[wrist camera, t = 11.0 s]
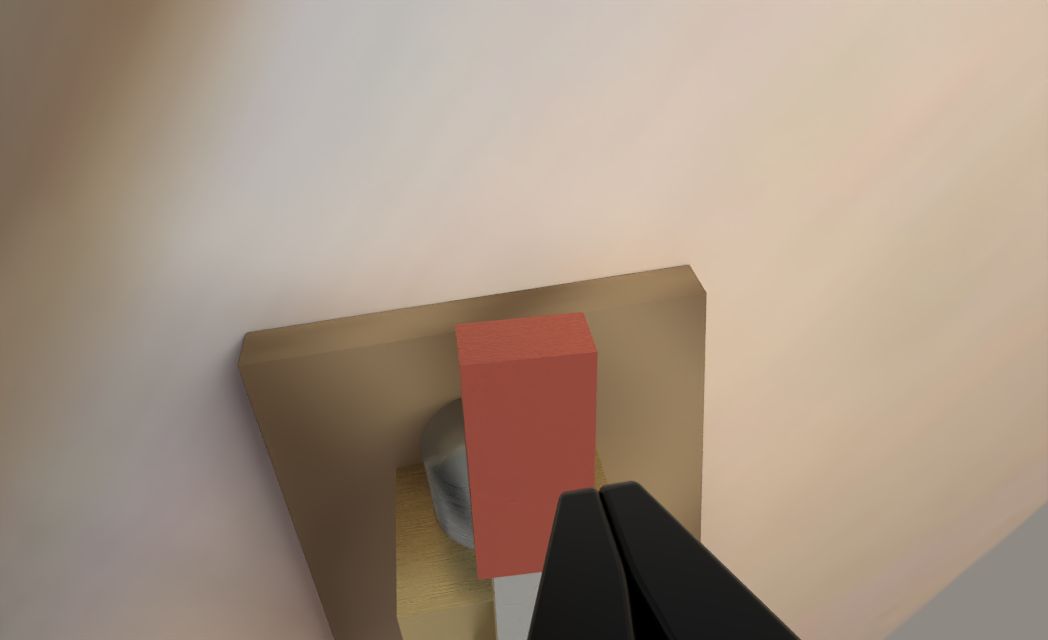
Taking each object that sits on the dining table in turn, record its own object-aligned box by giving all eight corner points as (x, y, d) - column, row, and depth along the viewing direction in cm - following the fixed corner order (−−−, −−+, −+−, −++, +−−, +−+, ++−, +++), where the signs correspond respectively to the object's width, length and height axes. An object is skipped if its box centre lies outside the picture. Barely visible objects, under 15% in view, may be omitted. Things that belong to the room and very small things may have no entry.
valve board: (355, 656, 30) (354, 695, 29) (246, 332, 22) (237, 365, 21) (685, 598, 31) (698, 633, 29) (689, 264, 23) (706, 292, 22)
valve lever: (586, 725, 21) (596, 772, 20) (483, 741, 21) (487, 789, 20) (595, 311, 14) (609, 350, 13) (443, 325, 14) (447, 366, 13)
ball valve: (438, 642, 28) (448, 820, 23) (380, 407, 22) (378, 577, 18) (605, 612, 28) (648, 782, 23) (588, 374, 23) (640, 532, 18)
